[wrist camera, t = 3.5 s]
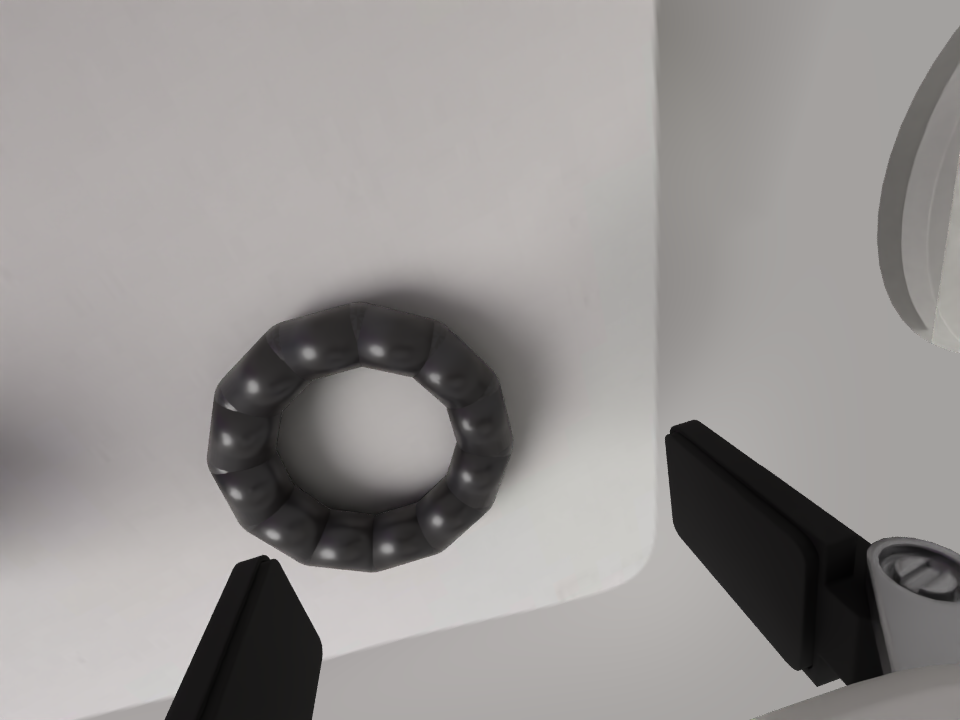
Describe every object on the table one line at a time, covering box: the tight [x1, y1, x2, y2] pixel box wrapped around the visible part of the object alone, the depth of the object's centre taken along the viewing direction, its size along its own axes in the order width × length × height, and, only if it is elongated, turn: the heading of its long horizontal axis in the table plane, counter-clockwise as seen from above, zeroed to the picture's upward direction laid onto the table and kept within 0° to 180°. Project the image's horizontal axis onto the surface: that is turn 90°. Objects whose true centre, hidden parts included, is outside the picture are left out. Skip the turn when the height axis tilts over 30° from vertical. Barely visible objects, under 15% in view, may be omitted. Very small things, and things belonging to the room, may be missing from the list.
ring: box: [207, 302, 513, 572], centre depth 15 cm, size 10×10×2 cm
